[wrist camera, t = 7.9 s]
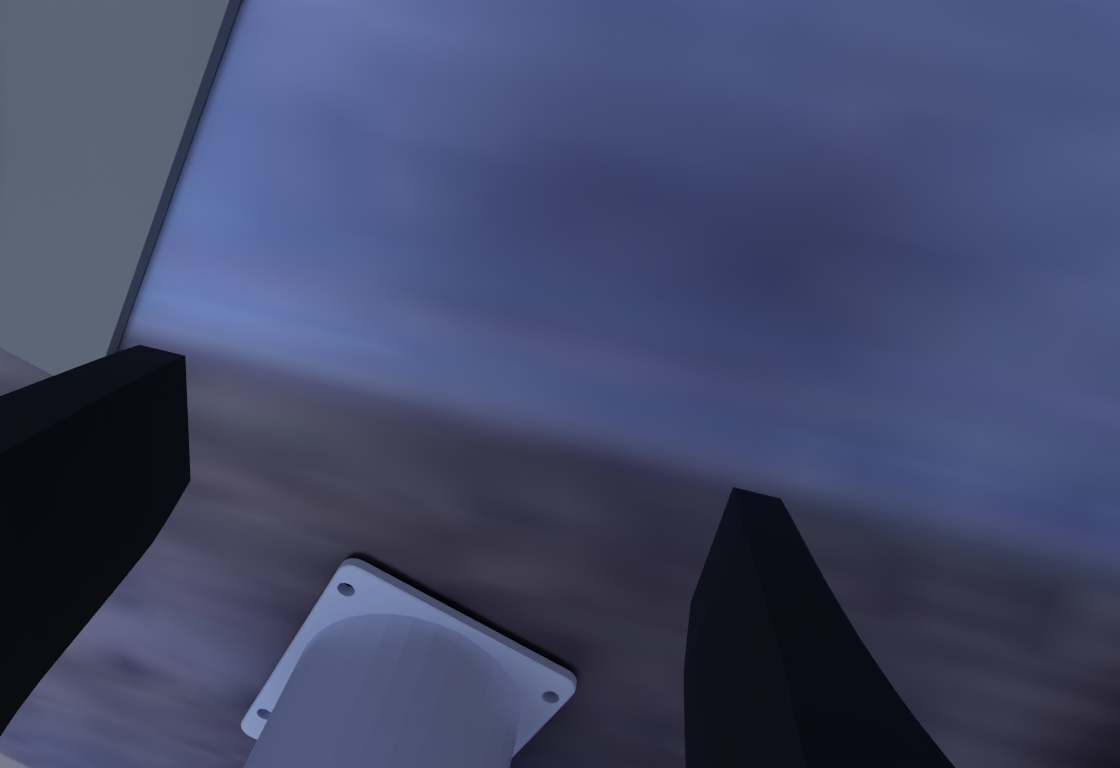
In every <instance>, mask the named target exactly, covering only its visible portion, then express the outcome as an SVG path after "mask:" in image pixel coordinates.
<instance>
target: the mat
mask: <svg viewBox="0 0 1120 768" xmlns="http://www.w3.org/2000/svg"><path fill="white" fill-rule="evenodd" d="M240 3H241V0H0V347H1V348H3V349H4V350H6V351H8V352H10V353H12V354H14V355H16V356H17V357H19V358H21V359H23V360H25V361H27V362H29V363H30V364H32V365H34V366H36V367H38V368H40V369H42V370H43V371H45V372H47V373H49V374H51V375H53V376H55V375H57V374H60V373H62V372H65V371H68V370H70V369H73V368H75V367H78V366H81V365H83V364H86V363H89V362H91V361H94V360H97V359H99V358H102V357H105V356H108V355H110V354H113V353H116V351H117V348H118V346H119V343H120V340H121V337H122V334H123V332H124V329H125V326H126V323H127V320H128V317H129V315H130V312H131V309H132V306H133V303H134V301H135V298H136V295H137V292H138V289H139V287H140V284H141V281H142V278H143V275H144V272H145V270H146V267H147V264H148V261H149V258H150V256H151V253H152V250H153V247H154V244H155V242H156V239H157V236H158V233H159V230H160V227H161V225H162V222H163V219H164V216H165V213H166V211H167V208H168V205H169V202H170V199H171V197H172V194H173V191H174V188H175V185H176V183H177V180H178V177H179V174H180V171H181V168H182V166H183V163H184V160H185V157H186V154H187V152H188V149H189V146H190V143H191V140H192V138H193V135H194V132H195V129H196V126H197V123H198V121H199V118H200V115H201V112H202V109H203V107H204V104H205V101H206V98H207V95H208V93H209V90H210V87H211V84H212V81H213V78H214V76H215V73H216V70H217V67H218V64H219V62H220V59H221V56H222V53H223V50H224V48H225V45H226V42H227V39H228V36H229V33H230V31H231V28H232V25H233V22H234V19H235V17H236V14H237V11H238V8H239V5H240Z"/></svg>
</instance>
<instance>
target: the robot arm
mask: <svg viewBox="0 0 1120 768" xmlns="http://www.w3.org/2000/svg"><path fill="white" fill-rule="evenodd" d="M189 482H190V457H189V433H188V409H187V386H186V362H185V356H184V355H180V354H175V353H171V352H167V351H163V350H159V349H155V348H150V347H146V346H142V345H138V346H135V347H132V348H128V349H125V350H122V351H119V352H116V353H113V354H110V355H108V356H105V357H102V358H99V359H97V360H94V361H91V362H89V363H86V364H83V365H81V366H78V367H75V368H73V369H70V370H68V371H65V372H62V373H60V374H57V375H55V376H52V377H50V378H47V379H44V380H42V381H39V382H36V383H34V384H31V385H29V386H26V387H23V388H21V389H18V390H15V391H13V392H10V393H8V394H5V395H2V396H0V736H1V735H2V733H3V732H4V730H5V729H6V727H7V726H8V724H9V723H10V721H11V720H12V718H13V717H14V715H15V714H16V712H17V711H18V709H19V708H20V707H21V705H22V704H23V703H24V701H25V700H26V699H27V697H28V696H29V695H30V694H31V692H32V691H33V690H34V688H35V687H36V686H37V684H38V683H39V682H40V680H41V679H42V678H43V677H44V675H45V674H46V673H47V672H48V670H49V669H50V668H51V667H52V666H53V664H54V663H55V662H56V661H57V660H58V658H59V657H60V656H61V655H62V653H63V652H64V651H65V650H66V649H67V647H68V646H69V645H70V644H71V643H72V641H73V640H74V639H75V638H76V636H77V635H78V634H79V633H80V632H81V630H82V629H83V628H84V627H85V626H86V624H87V623H88V622H89V621H90V619H91V618H92V617H93V616H94V615H95V613H96V612H97V611H98V610H99V609H100V607H101V606H102V605H103V604H104V603H105V601H106V600H107V599H108V598H109V596H110V595H111V594H112V593H113V592H114V590H115V589H116V588H117V587H118V585H119V584H120V583H121V582H122V580H123V579H124V578H125V577H126V576H127V574H128V573H129V572H130V571H131V569H132V568H133V567H134V566H135V564H136V563H137V562H138V561H139V559H140V558H141V557H142V556H143V554H144V553H145V552H146V551H147V549H148V548H149V547H150V545H151V544H152V543H153V541H154V540H155V538H156V537H157V535H158V533H159V532H160V530H161V529H162V527H163V526H164V524H165V522H166V521H167V519H168V518H169V516H170V514H171V513H172V511H173V509H174V508H175V506H176V504H177V502H178V501H179V499H180V497H181V496H182V494H183V492H184V490H185V489H186V487H187V485H188V484H189ZM344 583H347V584H350V585H351V586H352V587H350V586H347V585H346V584H344ZM576 684H577V681H576V677H575V675H574V674H573V673H571V672H570V671H569V670H567V669H565V668H563V667H561V666H559V665H558V664H556V663H554V662H552V661H550V660H548V659H546V658H545V657H543V656H541V655H539V654H537V653H535V652H533V651H531V650H530V649H528V648H526V647H524V646H522V645H520V644H518V643H516V642H515V641H513V640H511V639H509V638H507V637H505V636H503V635H501V634H500V633H498V632H496V631H494V630H492V629H490V628H488V627H486V626H485V625H483V624H481V623H479V622H477V621H475V620H473V619H471V618H470V617H468V616H466V615H464V614H462V613H460V612H458V611H456V610H455V609H453V608H451V607H449V606H447V605H445V604H443V603H441V602H440V601H438V600H436V599H434V598H432V597H430V596H428V595H426V594H425V593H423V592H421V591H419V590H417V589H415V588H413V587H411V586H410V585H408V584H406V583H404V582H402V581H400V580H398V579H396V578H395V577H393V576H391V575H389V574H387V573H385V572H383V571H381V570H380V569H378V568H376V567H374V566H372V565H370V564H368V563H367V562H365V561H362V560H360V559H355V558H350V559H346V560H345V561H343V562H342V563H341V565H340V566H339V568H338V570H337V571H336V573H335V574H334V576H333V577H332V579H331V581H330V582H329V584H328V585H327V587H326V589H325V590H324V592H323V593H322V595H321V596H320V598H319V600H318V601H317V603H316V604H315V606H314V607H313V609H312V611H311V612H310V614H309V615H308V617H307V618H306V620H305V622H304V623H303V625H302V626H301V628H300V630H299V631H298V633H297V634H296V636H295V637H294V639H293V641H292V642H291V644H290V645H289V647H288V648H287V650H286V652H285V653H284V655H283V656H282V658H281V660H280V661H279V663H278V664H277V666H276V667H275V669H274V671H273V672H272V674H271V675H270V677H269V678H268V680H267V682H266V683H265V685H264V686H263V688H262V689H261V691H260V693H259V694H258V696H257V697H256V699H255V701H254V702H253V704H252V705H251V707H250V708H249V710H248V712H247V713H246V715H245V717H244V718H243V720H242V723H241V727H242V730H243V731H244V732H245V733H246V734H247V735H249V736H250V737H252V738H254V739H256V740H257V742H256V744H255V746H254V748H253V749H252V751H251V753H250V755H249V757H248V759H247V761H246V763H245V765H244V767H243V768H510V764H511V760H512V758H513V757H514V756H515V754H516V753H517V752H518V751H519V750H520V749H521V748H522V747H523V746H524V745H525V744H526V743H527V742H528V741H529V740H530V739H531V738H532V737H533V736H534V735H535V734H536V733H537V732H538V731H539V730H540V729H541V728H542V727H543V726H544V724H545V723H546V722H547V721H548V720H549V719H550V718H551V717H552V716H553V715H554V714H555V713H556V712H557V711H558V710H559V709H560V708H561V707H562V706H563V705H564V704H565V703H566V702H567V701H568V700H569V699H570V698H571V697H572V695H573V694H574V692H575V690H576ZM548 691H551V692H554V693H551V692H548ZM684 715H685V757H686V768H955V767H954V766H953V765H952V763H951V762H950V761H949V760H948V758H947V757H946V756H945V755H944V753H943V752H942V751H941V750H940V748H939V747H938V746H937V745H936V743H935V742H934V741H933V740H932V738H931V737H930V736H929V735H928V733H927V732H926V731H925V730H924V728H923V727H922V726H921V725H920V723H919V722H918V721H917V720H916V718H915V717H914V715H913V714H912V713H911V711H910V710H909V709H908V707H907V706H906V705H905V703H904V702H903V701H902V699H901V698H900V697H899V695H898V694H897V692H896V691H895V690H894V688H893V687H892V685H891V684H890V682H889V681H888V679H887V678H886V676H885V675H884V674H883V672H882V671H881V669H880V668H879V666H878V665H877V663H876V662H875V660H874V659H873V658H872V656H871V655H870V653H869V652H868V650H867V648H866V647H865V645H864V644H863V642H862V641H861V639H860V638H859V636H858V634H857V633H856V631H855V629H854V628H853V626H852V624H851V623H850V621H849V619H848V618H847V616H846V614H845V613H844V611H843V609H842V608H841V606H840V604H839V603H838V601H837V599H836V598H835V596H834V594H833V593H832V591H831V589H830V587H829V586H828V584H827V582H826V580H825V579H824V577H823V575H822V573H821V571H820V570H819V568H818V566H817V564H816V562H815V561H814V559H813V557H812V555H811V553H810V552H809V550H808V548H807V546H806V544H805V542H804V540H803V539H802V537H801V535H800V533H799V531H798V529H797V527H796V525H795V524H794V522H793V520H792V518H791V516H790V514H789V513H788V511H787V509H786V507H785V505H784V504H783V502H782V500H781V499H780V498H776V497H772V496H767V495H763V494H759V493H755V492H751V491H747V490H742V489H738V488H734V487H733V489H732V492H731V495H730V497H729V500H728V503H727V505H726V508H725V511H724V514H723V516H722V519H721V522H720V524H719V527H718V530H717V533H716V535H715V538H714V541H713V544H712V546H711V549H710V552H709V554H708V557H707V560H706V563H705V565H704V568H703V571H702V573H701V576H700V579H699V582H698V584H697V587H696V590H695V592H694V595H693V598H692V601H691V606H690V615H689V625H688V634H687V644H686V655H685V666H684Z"/></svg>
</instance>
